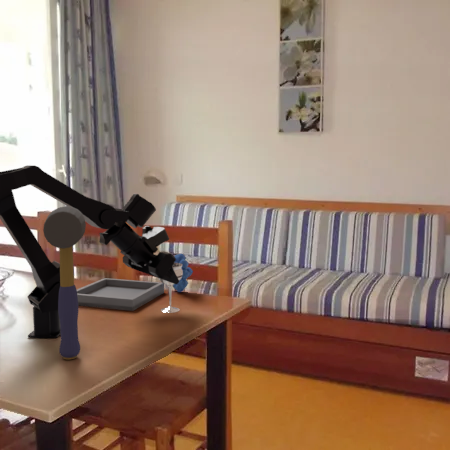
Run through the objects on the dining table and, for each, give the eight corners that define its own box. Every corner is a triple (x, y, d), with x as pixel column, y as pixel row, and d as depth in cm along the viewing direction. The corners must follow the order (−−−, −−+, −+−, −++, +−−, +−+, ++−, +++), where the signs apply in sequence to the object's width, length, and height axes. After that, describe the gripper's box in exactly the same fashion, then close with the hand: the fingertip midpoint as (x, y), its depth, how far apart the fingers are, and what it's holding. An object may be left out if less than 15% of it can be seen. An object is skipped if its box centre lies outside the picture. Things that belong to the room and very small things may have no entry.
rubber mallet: (53, 348, 106) (48, 204, 102) (90, 345, 107) (86, 204, 104) (46, 372, 94) (39, 210, 90) (88, 368, 95) (83, 209, 92)
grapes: (200, 295, 149) (200, 254, 147) (178, 297, 146) (177, 256, 144) (186, 286, 159) (186, 248, 158) (166, 288, 157) (165, 250, 155)
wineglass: (171, 304, 139) (171, 261, 137) (188, 309, 134) (188, 265, 132) (152, 309, 134) (151, 265, 132) (168, 315, 129) (168, 268, 128)
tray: (132, 310, 133) (132, 299, 132) (66, 304, 139) (66, 293, 138) (164, 292, 152) (164, 282, 151) (104, 287, 158) (104, 278, 157)
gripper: (168, 220, 120) (206, 260, 128) (132, 214, 135) (168, 250, 143) (138, 257, 116) (180, 296, 124) (105, 246, 131) (144, 282, 139)
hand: (168, 279), depth 133 cm, fingers open, 9 cm apart
